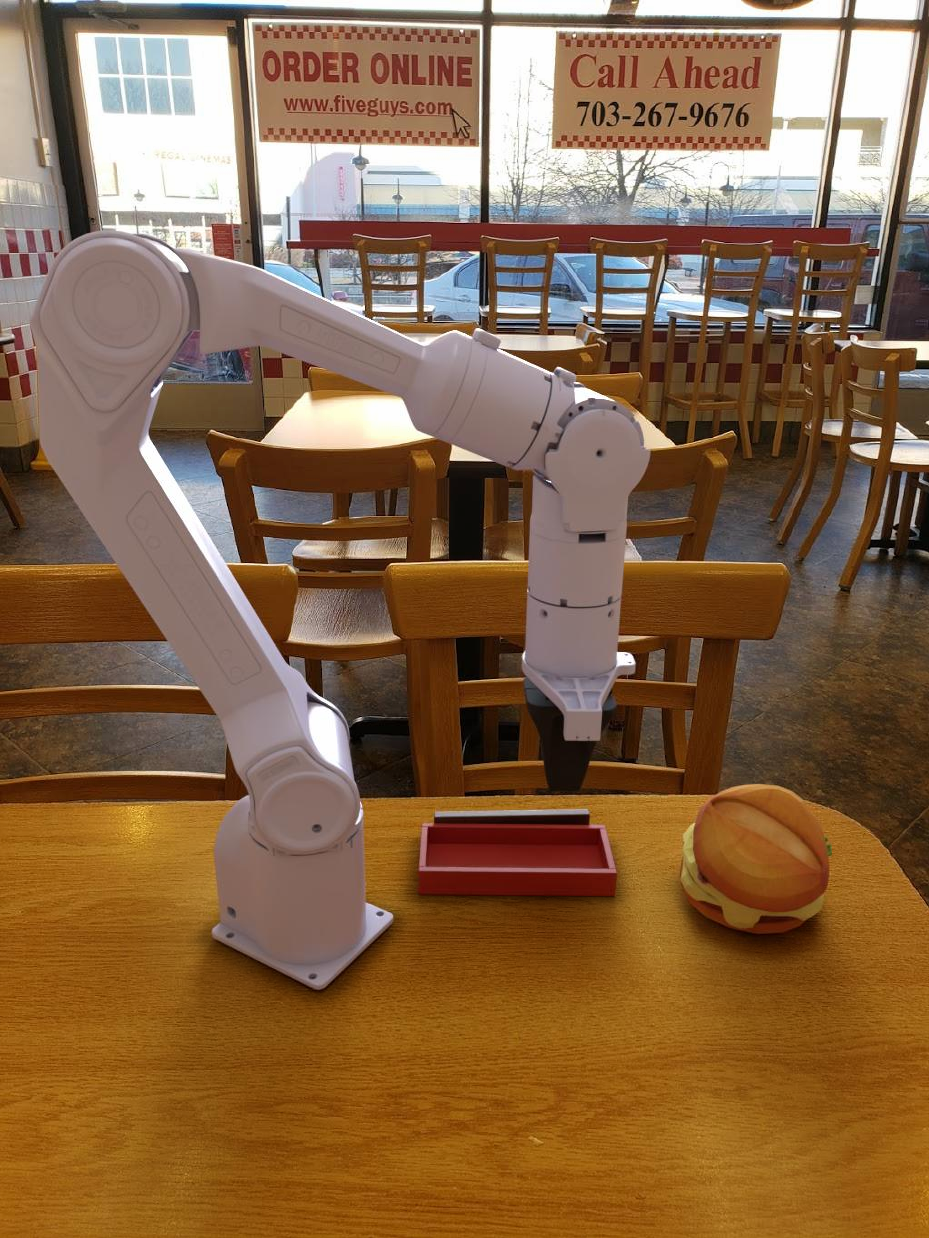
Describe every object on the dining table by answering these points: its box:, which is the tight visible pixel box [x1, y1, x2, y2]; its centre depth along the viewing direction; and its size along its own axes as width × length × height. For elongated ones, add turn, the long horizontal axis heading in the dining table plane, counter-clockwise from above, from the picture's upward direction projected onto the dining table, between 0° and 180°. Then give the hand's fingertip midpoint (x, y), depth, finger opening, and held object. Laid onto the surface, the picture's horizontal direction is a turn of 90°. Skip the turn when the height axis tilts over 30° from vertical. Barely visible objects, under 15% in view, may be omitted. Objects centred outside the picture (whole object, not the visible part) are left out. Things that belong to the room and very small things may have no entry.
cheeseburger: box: [679, 783, 833, 935], centre depth 65 cm, size 10×11×10 cm
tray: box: [417, 822, 618, 897], centre depth 69 cm, size 6×14×2 cm, turn 90°
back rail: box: [433, 808, 591, 825], centre depth 73 cm, size 1×12×2 cm, turn 93°
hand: (563, 785), depth 62 cm, fingers closed
